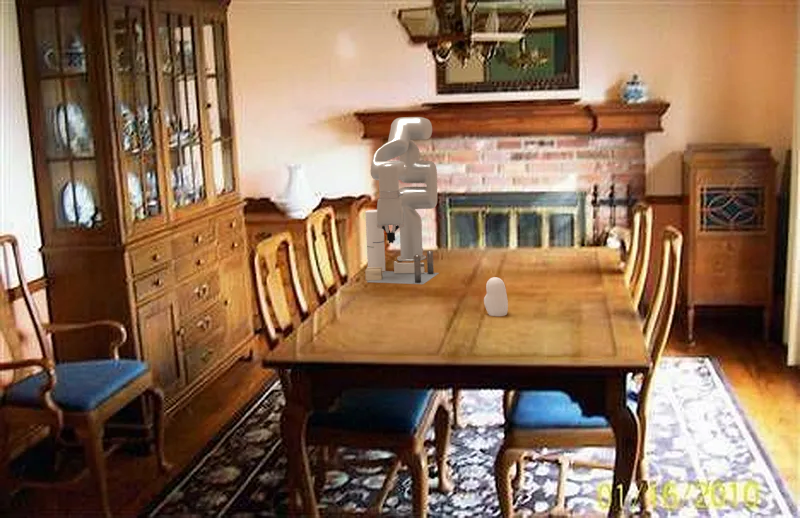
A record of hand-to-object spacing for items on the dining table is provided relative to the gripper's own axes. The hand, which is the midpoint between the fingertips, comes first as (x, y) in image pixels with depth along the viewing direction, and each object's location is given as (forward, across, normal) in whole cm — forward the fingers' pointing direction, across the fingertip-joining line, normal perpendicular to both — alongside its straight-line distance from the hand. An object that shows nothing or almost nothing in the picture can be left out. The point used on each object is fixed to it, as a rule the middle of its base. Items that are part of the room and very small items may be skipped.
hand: (391, 242), depth 356 cm
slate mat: (+15, -4, 0) cm, 15 cm away
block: (+14, +7, +1) cm, 16 cm away
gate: (+14, -6, -7) cm, 17 cm away
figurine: (+14, -39, +57) cm, 71 cm away
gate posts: (+14, -12, +1) cm, 19 cm away
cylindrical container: (+15, +8, -16) cm, 23 cm away
